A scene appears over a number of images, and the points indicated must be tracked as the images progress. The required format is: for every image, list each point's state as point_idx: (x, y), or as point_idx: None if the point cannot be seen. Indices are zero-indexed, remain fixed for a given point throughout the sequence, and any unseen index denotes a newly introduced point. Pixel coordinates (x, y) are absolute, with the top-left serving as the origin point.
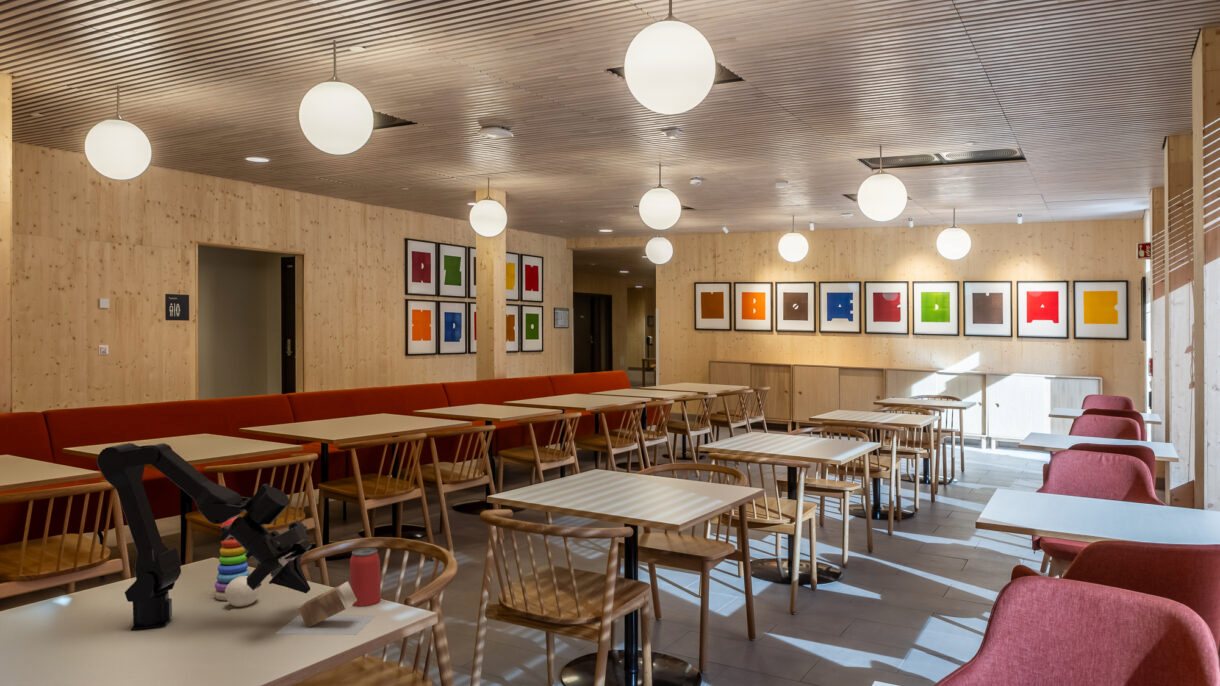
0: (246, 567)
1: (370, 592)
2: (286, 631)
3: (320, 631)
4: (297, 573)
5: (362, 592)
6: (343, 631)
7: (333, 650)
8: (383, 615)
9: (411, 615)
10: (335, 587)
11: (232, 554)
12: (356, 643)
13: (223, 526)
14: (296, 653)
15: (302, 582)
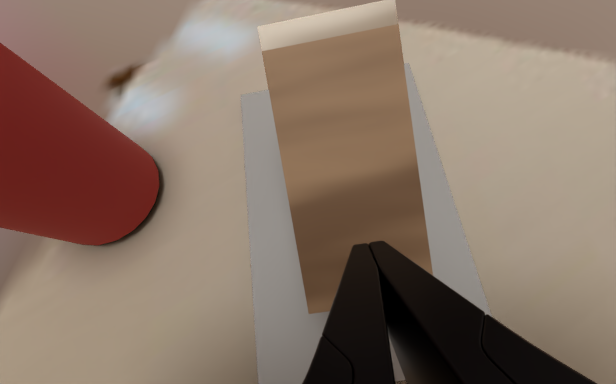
0: None
1: (116, 130)
2: None
3: (420, 182)
4: (461, 371)
5: (123, 151)
6: None
7: (529, 68)
8: (226, 86)
9: (221, 22)
10: (280, 113)
11: None
12: (453, 41)
13: None
14: (611, 161)
15: (431, 276)
